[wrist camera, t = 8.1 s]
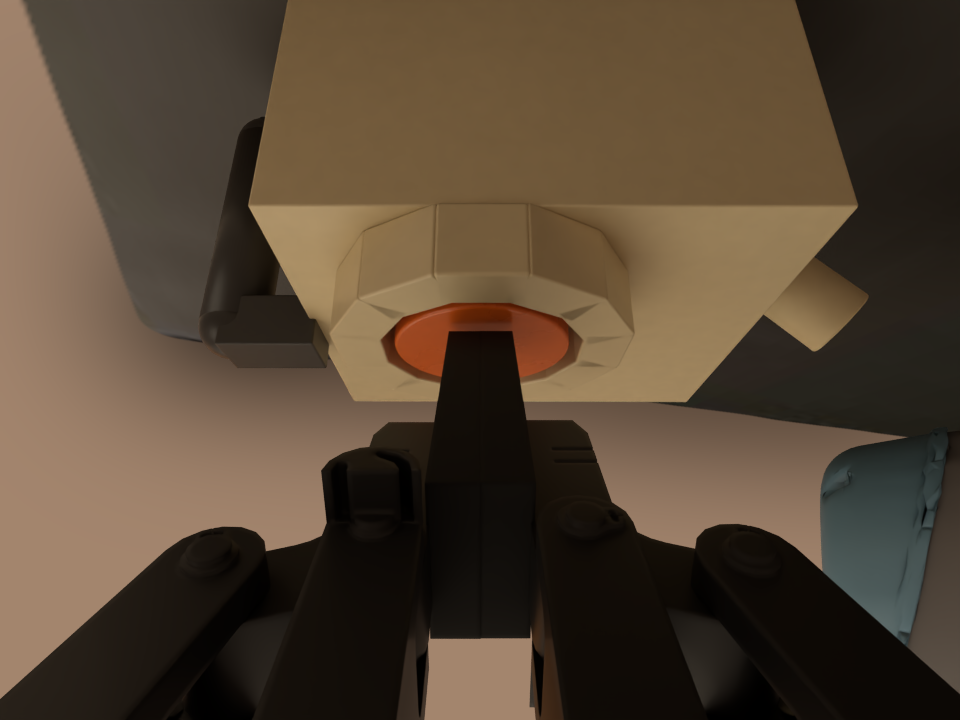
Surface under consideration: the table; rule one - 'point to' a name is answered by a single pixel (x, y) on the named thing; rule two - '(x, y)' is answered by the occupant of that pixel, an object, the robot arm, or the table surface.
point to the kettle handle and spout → (300, 341)
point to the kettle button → (533, 331)
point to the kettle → (548, 179)
